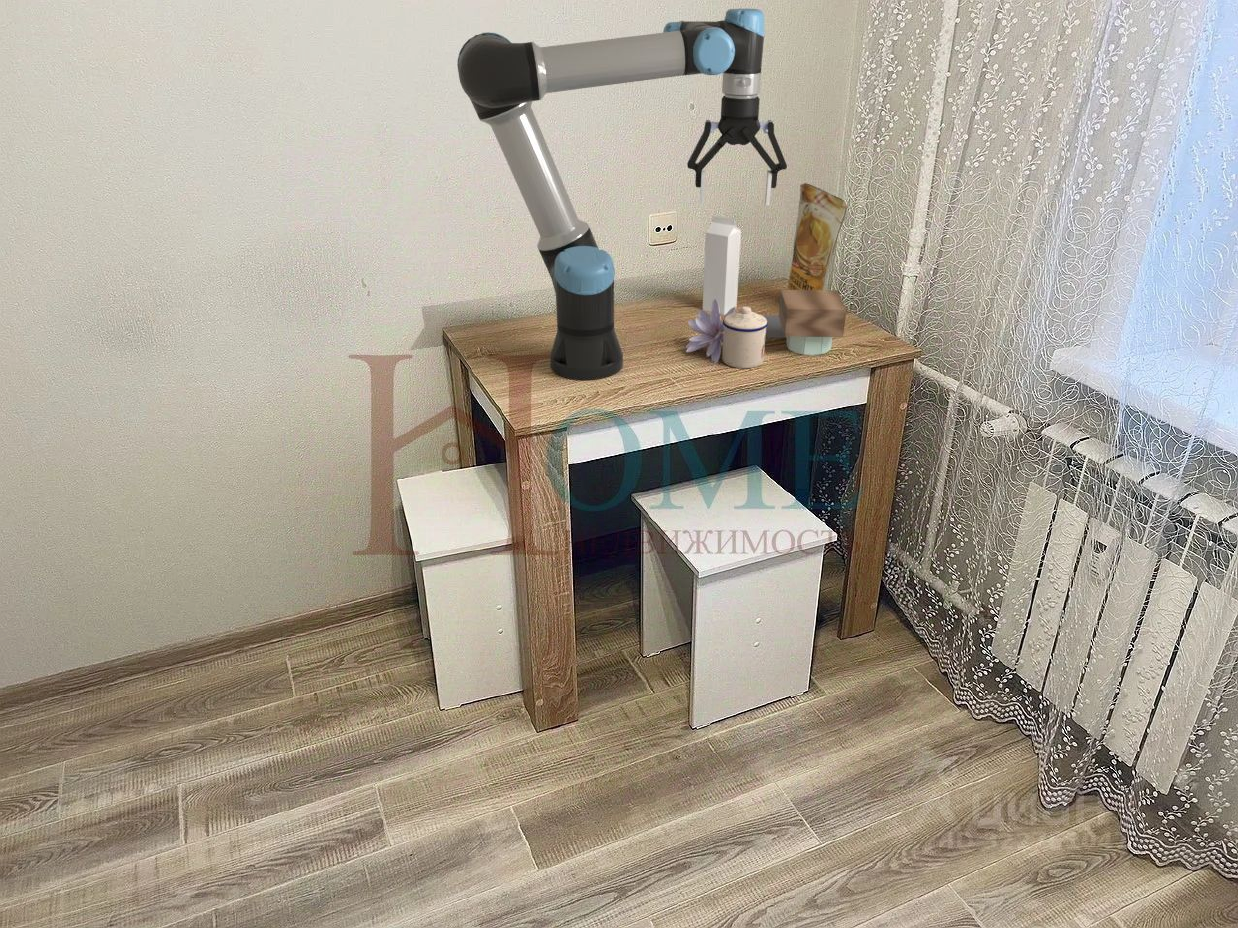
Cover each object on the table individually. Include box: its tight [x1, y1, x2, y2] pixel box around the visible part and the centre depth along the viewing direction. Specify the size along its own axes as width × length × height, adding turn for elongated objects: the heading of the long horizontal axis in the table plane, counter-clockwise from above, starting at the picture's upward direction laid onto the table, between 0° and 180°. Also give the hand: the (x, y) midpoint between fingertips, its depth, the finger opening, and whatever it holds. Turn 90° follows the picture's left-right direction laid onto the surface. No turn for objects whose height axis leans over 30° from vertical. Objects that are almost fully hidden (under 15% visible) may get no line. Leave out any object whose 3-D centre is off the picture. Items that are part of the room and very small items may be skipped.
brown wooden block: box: [778, 289, 847, 338], centre depth 197 cm, size 12×12×6 cm
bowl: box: [785, 337, 833, 356], centre depth 199 cm, size 9×9×5 cm
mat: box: [761, 314, 787, 339], centre depth 211 cm, size 14×14×1 cm
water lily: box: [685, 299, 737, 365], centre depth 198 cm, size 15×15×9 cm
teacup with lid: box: [721, 306, 768, 369], centre depth 193 cm, size 12×9×12 cm
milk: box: [702, 215, 742, 316], centre depth 216 cm, size 6×6×22 cm
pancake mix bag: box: [787, 182, 848, 290], centre depth 214 cm, size 7×19×28 cm, turn 14°
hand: (734, 203), depth 195 cm, fingers open, 13 cm apart
